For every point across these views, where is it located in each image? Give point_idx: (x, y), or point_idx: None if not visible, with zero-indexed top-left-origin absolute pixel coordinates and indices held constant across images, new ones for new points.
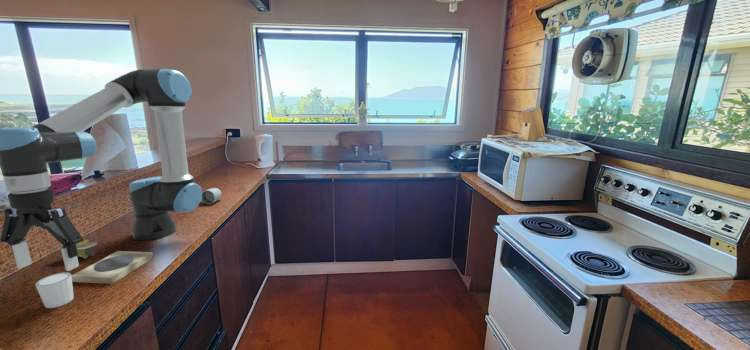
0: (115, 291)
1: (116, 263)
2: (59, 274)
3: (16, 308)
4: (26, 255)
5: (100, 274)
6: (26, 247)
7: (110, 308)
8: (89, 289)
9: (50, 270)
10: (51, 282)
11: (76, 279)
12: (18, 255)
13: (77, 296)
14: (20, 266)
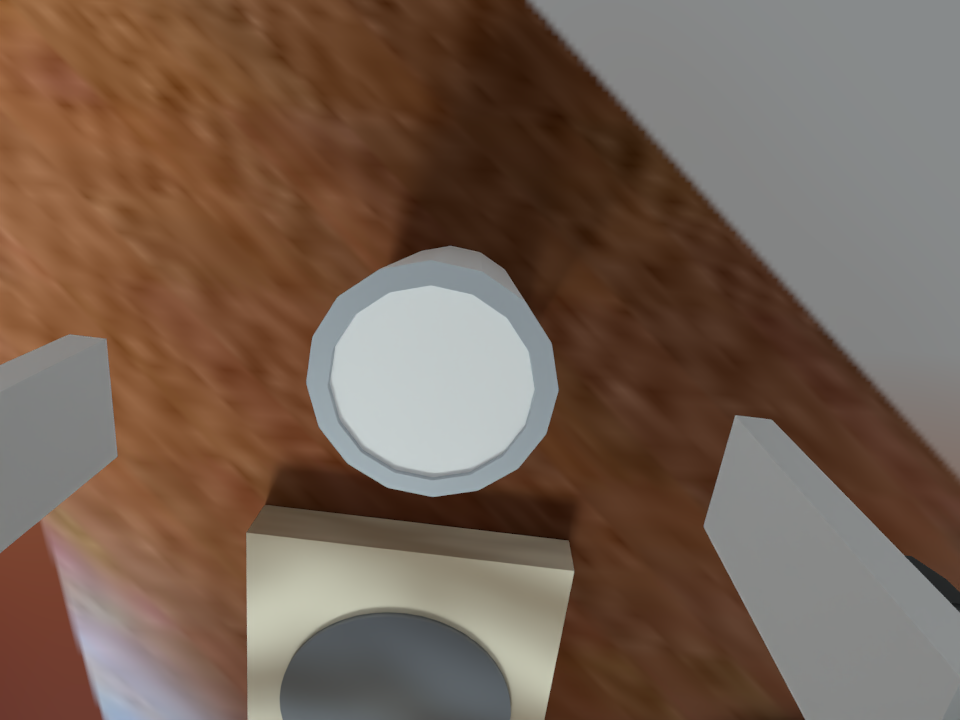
0: (164, 417)
1: (367, 698)
2: (458, 465)
3: (689, 255)
4: (763, 586)
5: (369, 577)
6: (817, 713)
7: (12, 223)
8: None
9: None
10: (398, 330)
11: (534, 549)
12: (818, 539)
13: None
14: (745, 436)
